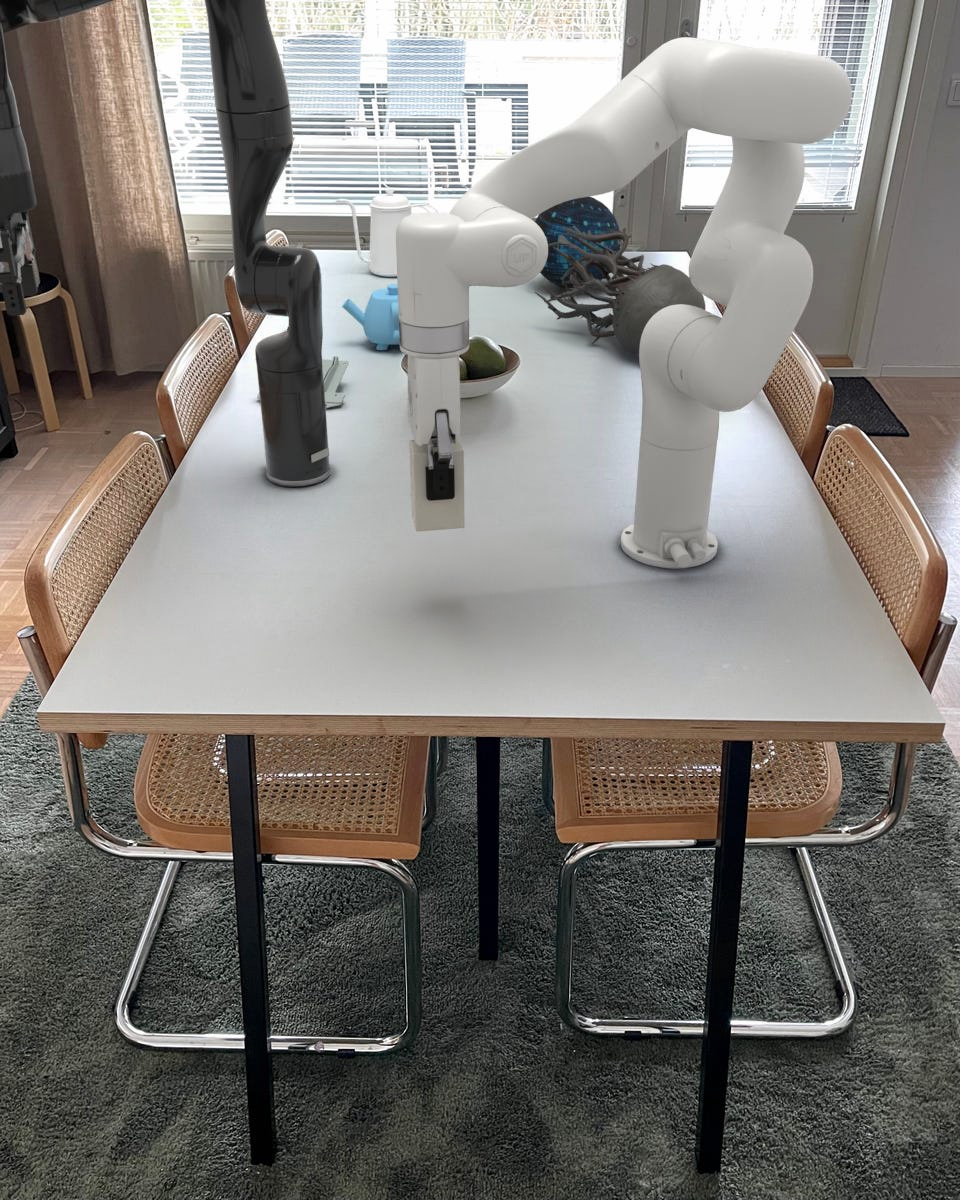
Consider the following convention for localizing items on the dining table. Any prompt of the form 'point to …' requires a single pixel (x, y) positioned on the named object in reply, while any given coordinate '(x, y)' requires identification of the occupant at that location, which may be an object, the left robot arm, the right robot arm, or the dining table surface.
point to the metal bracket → (332, 381)
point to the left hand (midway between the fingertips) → (23, 304)
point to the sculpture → (620, 288)
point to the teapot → (379, 316)
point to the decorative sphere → (584, 218)
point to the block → (436, 511)
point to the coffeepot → (383, 230)
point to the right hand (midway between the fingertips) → (437, 488)
